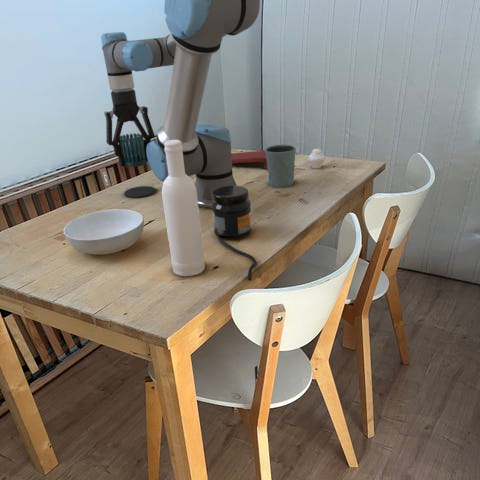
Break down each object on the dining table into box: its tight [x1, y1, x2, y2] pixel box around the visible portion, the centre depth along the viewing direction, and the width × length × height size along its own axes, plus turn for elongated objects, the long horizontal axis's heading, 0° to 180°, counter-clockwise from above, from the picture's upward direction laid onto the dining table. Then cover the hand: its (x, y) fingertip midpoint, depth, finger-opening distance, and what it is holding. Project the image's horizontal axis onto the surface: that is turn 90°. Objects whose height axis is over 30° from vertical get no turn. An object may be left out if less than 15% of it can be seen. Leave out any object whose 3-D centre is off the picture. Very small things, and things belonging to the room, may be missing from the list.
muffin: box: [308, 148, 326, 170], centre depth 181 cm, size 6×6×7 cm
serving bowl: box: [62, 208, 145, 256], centre depth 130 cm, size 21×21×7 cm
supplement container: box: [211, 185, 253, 241], centre depth 132 cm, size 10×10×12 cm
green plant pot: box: [264, 144, 297, 188], centre depth 166 cm, size 10×10×12 cm
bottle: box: [161, 140, 206, 277], centre depth 110 cm, size 8×8×30 cm
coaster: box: [123, 185, 157, 199], centre depth 169 cm, size 11×11×1 cm
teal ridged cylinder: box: [118, 132, 148, 168], centre depth 162 cm, size 9×8×8 cm
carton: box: [231, 149, 268, 170], centre depth 192 cm, size 12×5×25 cm
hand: (135, 163), depth 164 cm, fingers closed on teal ridged cylinder, 8 cm apart
